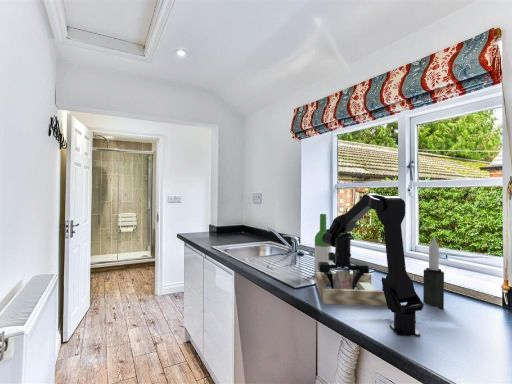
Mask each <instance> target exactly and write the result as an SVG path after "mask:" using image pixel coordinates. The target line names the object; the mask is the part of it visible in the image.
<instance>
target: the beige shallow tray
mask: <svg viewBox="0 0 512 384" xmlns="http://www.w3.org/2000/svg"><path fill="white" fill-rule="evenodd" d="M314 273H315V275H314V276H315V277H314V278H315V286H316V288H317V290H318V294H319V295H320V298H321V300H322V302H323V304H326V305H327V304H328V305H352V306H353V305H356V306H386V307H387V303H386V299H385V296H384V291H382V289H376V290H360V289H331V288H328V287H327V285H329V286H330V283H329V279H328V277H327V275H325V274H324V273H321V272H315V271H314ZM331 273H332V277H333V279H334V277H335V274H336V272H332V271H331ZM363 274H364V273H363ZM350 275H351V278H352V281H353V272H350ZM359 282H362V283H370V284H371V285H372V273H371V272H369V273H368V274H364V276H361V278H360V279H359V281H358V283H357V285H356V286H359Z"/></svg>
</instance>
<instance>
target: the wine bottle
mask: <svg viewBox="0 0 512 384" xmlns="http://www.w3.org/2000/svg"><path fill="white" fill-rule="evenodd" d="M326 229H327V214H325V213H320V215H319V231H318V232H317V233H316V235H315V236H314V268H313V269H314V272H313V273H314V276H315V272H319V270H318V263H319V262H328V263H329V265H332V261H329V260H328V253H332V246H329V245H326V244H324V243H323V241H322V237H323V235H324V233H325V232H326Z"/></svg>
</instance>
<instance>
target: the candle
mask: <svg viewBox="0 0 512 384" xmlns="http://www.w3.org/2000/svg"><path fill="white" fill-rule="evenodd" d="M439 250H440V246H439V244H438V243H437V241H436V237H435V236H432V240H431V243H430V244H429V245H428V267H426V268H425V269H423V284H422V285H423V289H422V290H423V292H422V295H423V299H422V300H423V301H422V303H423V304H427V305H429V306H431V307H437V308H438V309H439V310H444V307H445V306H444V305H445V303H444V301H445V272H444V271H443V270H442V269H441V268H439V266H440V265H439V264H440V263H439V260H440V259H439V257H440V256H439V255H440V254H439V253H440V251H439Z"/></svg>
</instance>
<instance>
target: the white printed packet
mask: <svg viewBox="0 0 512 384" xmlns="http://www.w3.org/2000/svg"><path fill="white" fill-rule="evenodd" d="M335 273H336V274H335V277H334V279H333V289H352V278H351V275H350V273H351V270H336V272H335Z"/></svg>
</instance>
